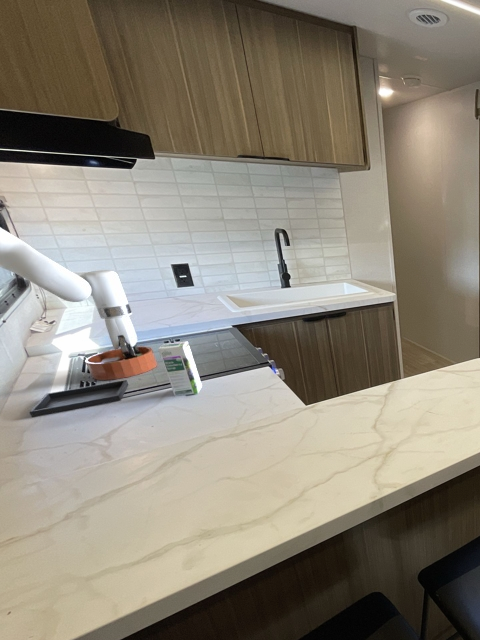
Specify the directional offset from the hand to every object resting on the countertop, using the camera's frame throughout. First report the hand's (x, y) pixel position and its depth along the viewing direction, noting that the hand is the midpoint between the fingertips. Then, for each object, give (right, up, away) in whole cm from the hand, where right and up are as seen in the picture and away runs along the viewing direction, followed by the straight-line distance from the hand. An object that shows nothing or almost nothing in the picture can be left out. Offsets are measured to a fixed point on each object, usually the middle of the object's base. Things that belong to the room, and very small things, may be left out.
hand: (136, 365), depth 132 cm
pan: (+5, -11, -21) cm, 24 cm away
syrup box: (+30, -8, -16) cm, 35 cm away
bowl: (-2, -2, -1) cm, 3 cm away
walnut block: (-5, -2, -2) cm, 6 cm away
